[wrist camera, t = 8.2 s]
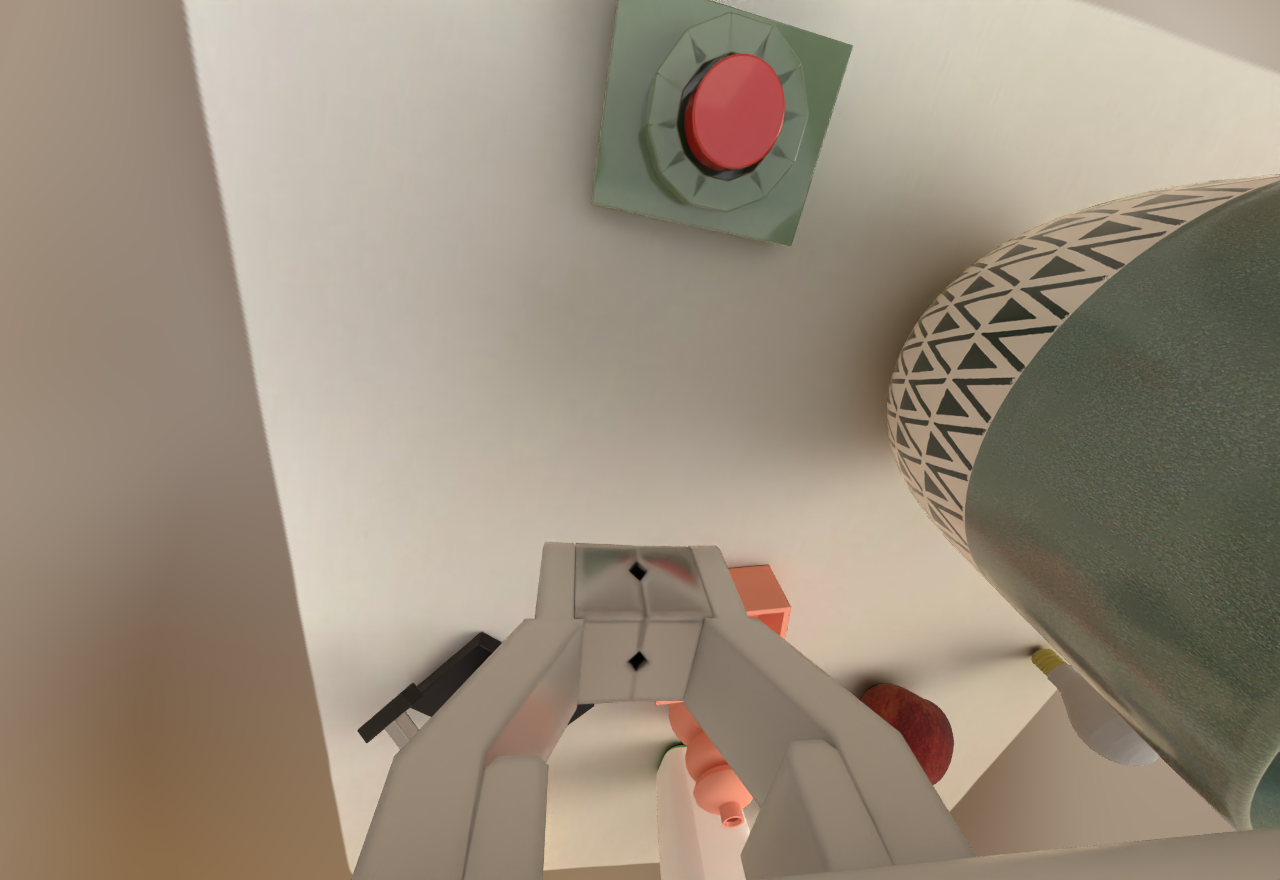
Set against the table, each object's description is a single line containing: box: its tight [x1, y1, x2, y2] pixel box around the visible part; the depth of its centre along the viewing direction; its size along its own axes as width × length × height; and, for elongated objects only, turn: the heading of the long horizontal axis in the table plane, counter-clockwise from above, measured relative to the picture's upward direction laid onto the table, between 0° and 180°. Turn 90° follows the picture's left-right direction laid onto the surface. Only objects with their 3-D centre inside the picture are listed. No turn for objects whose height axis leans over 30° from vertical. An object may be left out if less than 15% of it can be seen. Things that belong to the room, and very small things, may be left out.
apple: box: [860, 684, 954, 785], centre depth 41 cm, size 7×8×8 cm
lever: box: [358, 683, 423, 750], centre depth 30 cm, size 12×5×2 cm, turn 43°
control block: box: [591, 0, 853, 246], centre depth 20 cm, size 10×8×4 cm
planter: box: [887, 174, 1280, 831], centre depth 19 cm, size 20×20×21 cm
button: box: [684, 53, 785, 172], centre depth 18 cm, size 4×4×2 cm
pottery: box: [655, 565, 791, 828], centre depth 34 cm, size 18×10×10 cm, turn 1°
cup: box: [656, 745, 750, 880], centre depth 39 cm, size 7×7×15 cm
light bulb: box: [1031, 649, 1159, 766], centre depth 40 cm, size 5×6×10 cm
